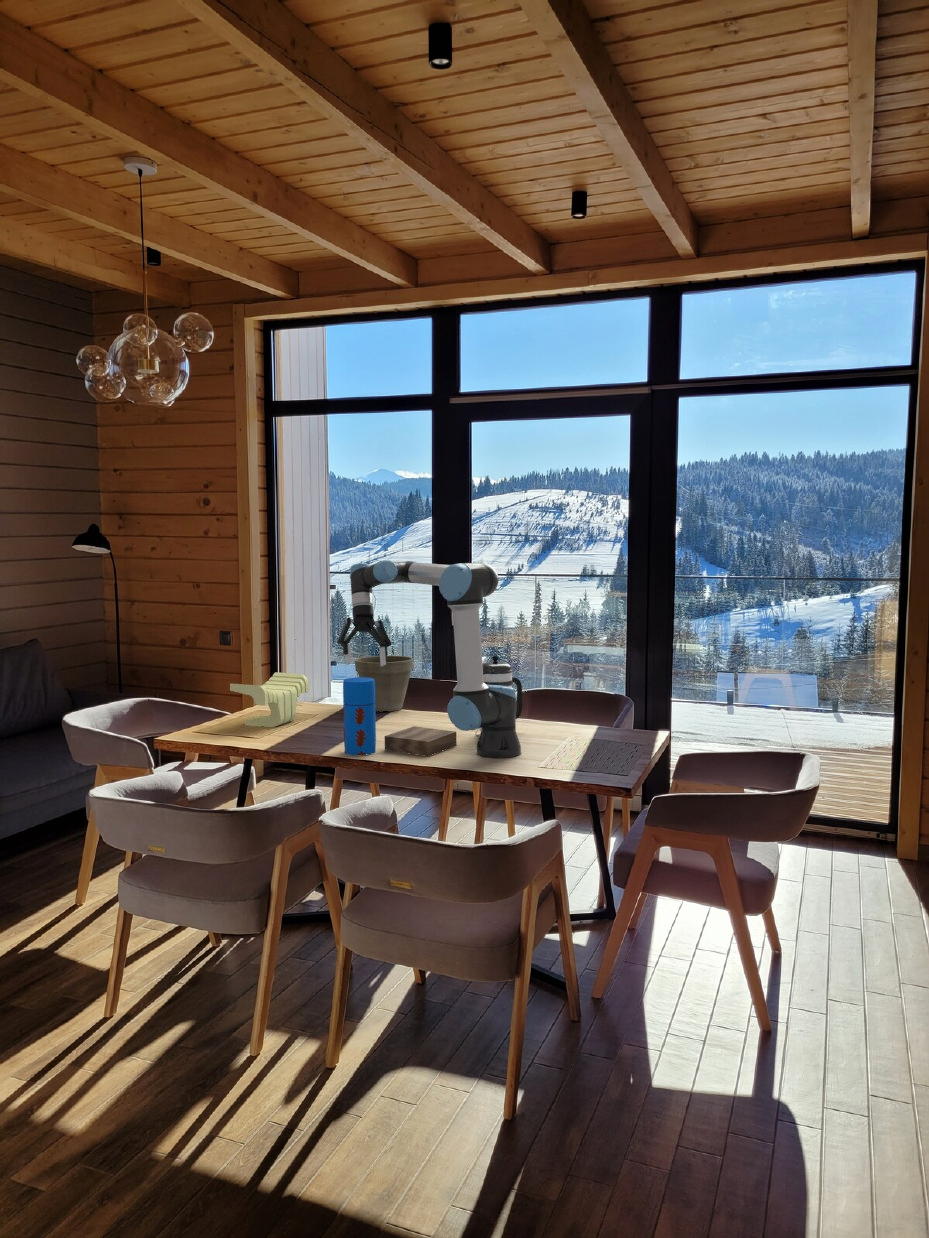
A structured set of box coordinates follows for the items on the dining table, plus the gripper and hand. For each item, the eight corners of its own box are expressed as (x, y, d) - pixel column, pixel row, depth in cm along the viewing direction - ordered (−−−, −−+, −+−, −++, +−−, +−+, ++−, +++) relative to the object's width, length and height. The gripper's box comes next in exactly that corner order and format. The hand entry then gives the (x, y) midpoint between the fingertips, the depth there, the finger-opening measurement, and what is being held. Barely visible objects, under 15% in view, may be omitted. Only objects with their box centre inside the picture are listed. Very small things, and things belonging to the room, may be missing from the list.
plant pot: (362, 703, 403) (361, 654, 401) (417, 703, 400) (417, 654, 398) (350, 714, 378) (349, 662, 376) (408, 714, 376) (408, 662, 374)
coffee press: (515, 741, 326) (515, 658, 323) (471, 739, 329) (471, 657, 326) (522, 731, 343) (522, 652, 340) (480, 729, 346) (480, 651, 343)
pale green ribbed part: (266, 732, 344) (264, 685, 343) (231, 729, 350) (229, 683, 349) (309, 717, 372) (308, 674, 370) (276, 714, 378) (275, 672, 376)
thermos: (345, 756, 306) (343, 682, 304) (343, 749, 317) (341, 677, 314) (377, 754, 308) (376, 681, 306) (374, 747, 319) (373, 676, 316)
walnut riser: (456, 745, 321) (456, 731, 320) (428, 756, 305) (428, 741, 305) (414, 739, 330) (413, 726, 329) (384, 750, 315) (384, 735, 314)
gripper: (388, 612, 335) (392, 668, 330) (326, 606, 321) (329, 665, 316) (398, 606, 329) (402, 663, 324) (335, 600, 315) (338, 660, 310)
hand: (366, 664), depth 320 cm, fingers open, 13 cm apart
